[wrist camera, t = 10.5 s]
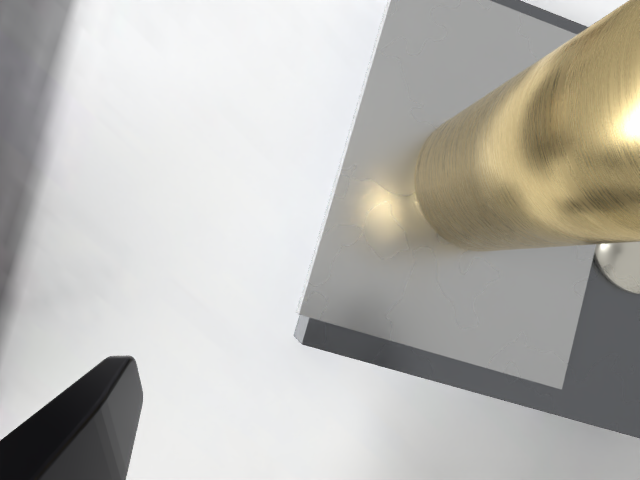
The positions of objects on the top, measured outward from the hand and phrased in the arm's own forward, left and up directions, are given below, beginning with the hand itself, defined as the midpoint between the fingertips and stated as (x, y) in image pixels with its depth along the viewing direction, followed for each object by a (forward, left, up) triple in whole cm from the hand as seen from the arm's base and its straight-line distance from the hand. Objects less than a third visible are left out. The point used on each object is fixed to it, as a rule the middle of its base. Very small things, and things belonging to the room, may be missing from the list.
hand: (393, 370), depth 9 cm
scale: (+7, -7, -12) cm, 16 cm away
